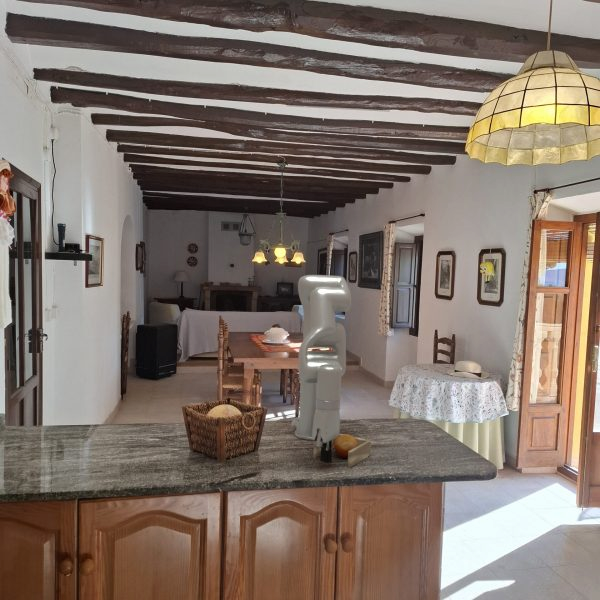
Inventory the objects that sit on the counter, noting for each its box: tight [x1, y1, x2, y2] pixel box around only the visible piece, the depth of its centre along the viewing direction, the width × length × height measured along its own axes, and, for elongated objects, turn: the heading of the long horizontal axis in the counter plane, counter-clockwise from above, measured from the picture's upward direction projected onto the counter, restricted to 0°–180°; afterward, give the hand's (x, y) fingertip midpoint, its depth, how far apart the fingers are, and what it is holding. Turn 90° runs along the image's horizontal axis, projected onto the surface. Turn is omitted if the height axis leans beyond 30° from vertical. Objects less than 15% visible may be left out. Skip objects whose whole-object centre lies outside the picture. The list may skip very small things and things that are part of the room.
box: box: [312, 432, 372, 469], centre depth 171 cm, size 14×14×5 cm
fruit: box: [333, 433, 358, 459], centre depth 172 cm, size 8×8×8 cm
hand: (325, 461), depth 162 cm, fingers closed
